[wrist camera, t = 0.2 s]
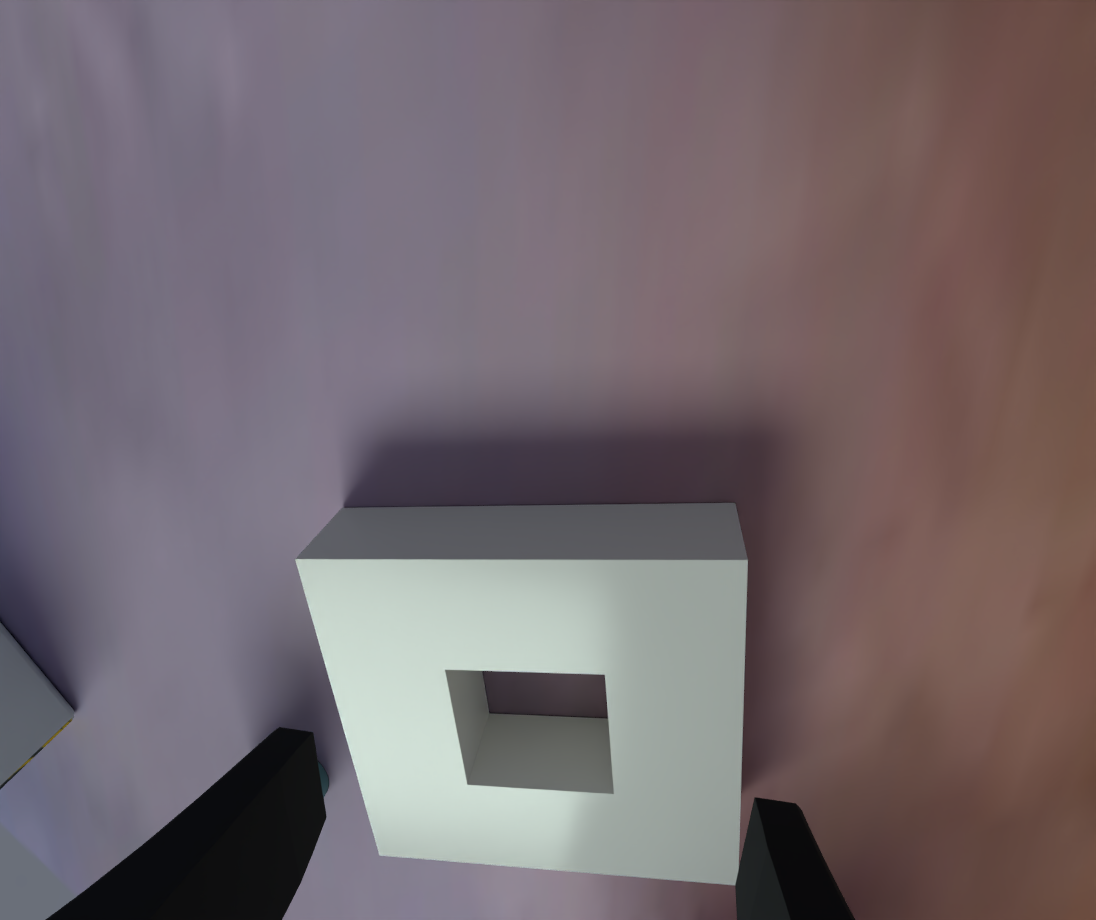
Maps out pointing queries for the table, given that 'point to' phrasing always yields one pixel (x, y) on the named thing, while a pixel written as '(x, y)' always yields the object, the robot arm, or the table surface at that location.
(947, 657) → the table surface
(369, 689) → the socket slab
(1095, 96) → the table surface
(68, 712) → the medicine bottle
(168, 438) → the table surface
